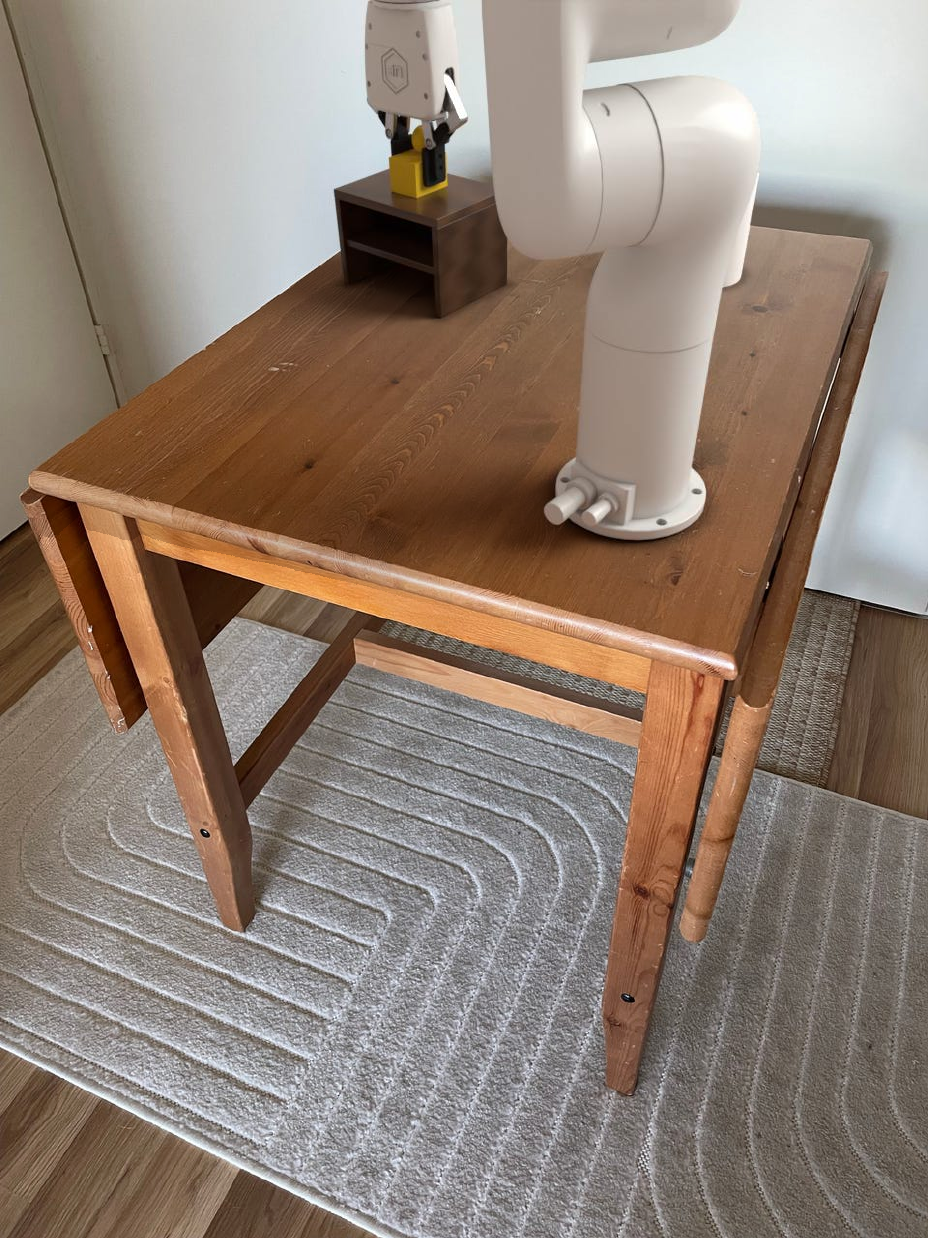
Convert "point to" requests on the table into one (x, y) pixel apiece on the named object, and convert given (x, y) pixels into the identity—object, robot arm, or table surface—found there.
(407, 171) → the duck
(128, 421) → the table surface
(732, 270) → the cylinder with rectangular tab
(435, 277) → the shelf
